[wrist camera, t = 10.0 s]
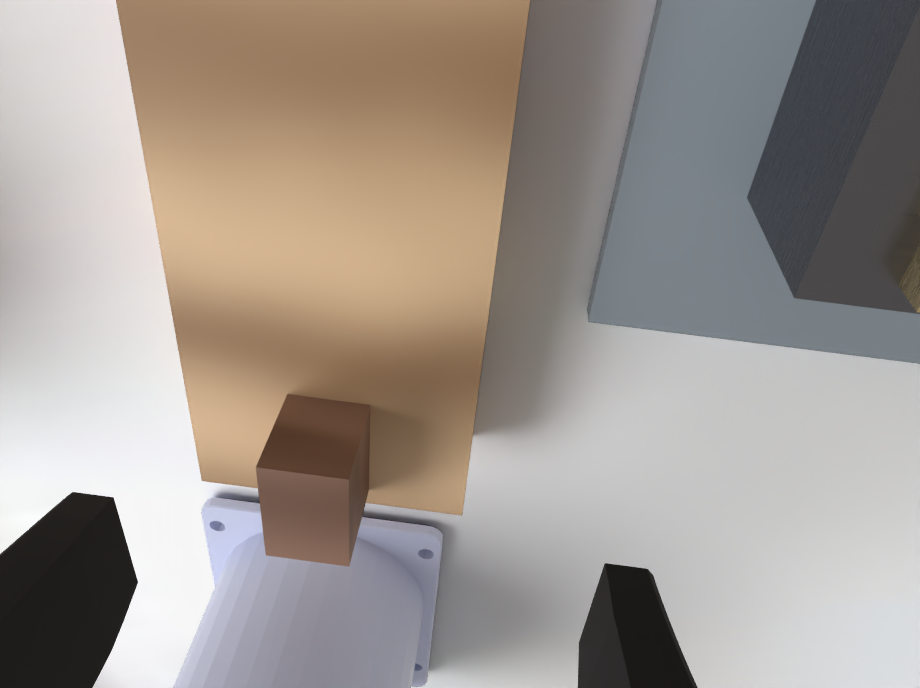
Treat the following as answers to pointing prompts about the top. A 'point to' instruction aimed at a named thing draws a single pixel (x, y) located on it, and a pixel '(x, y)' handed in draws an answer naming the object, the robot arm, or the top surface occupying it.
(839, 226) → the lever cap
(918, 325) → the slate mat
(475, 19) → the hand plane
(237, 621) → the robot arm
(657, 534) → the top surface
